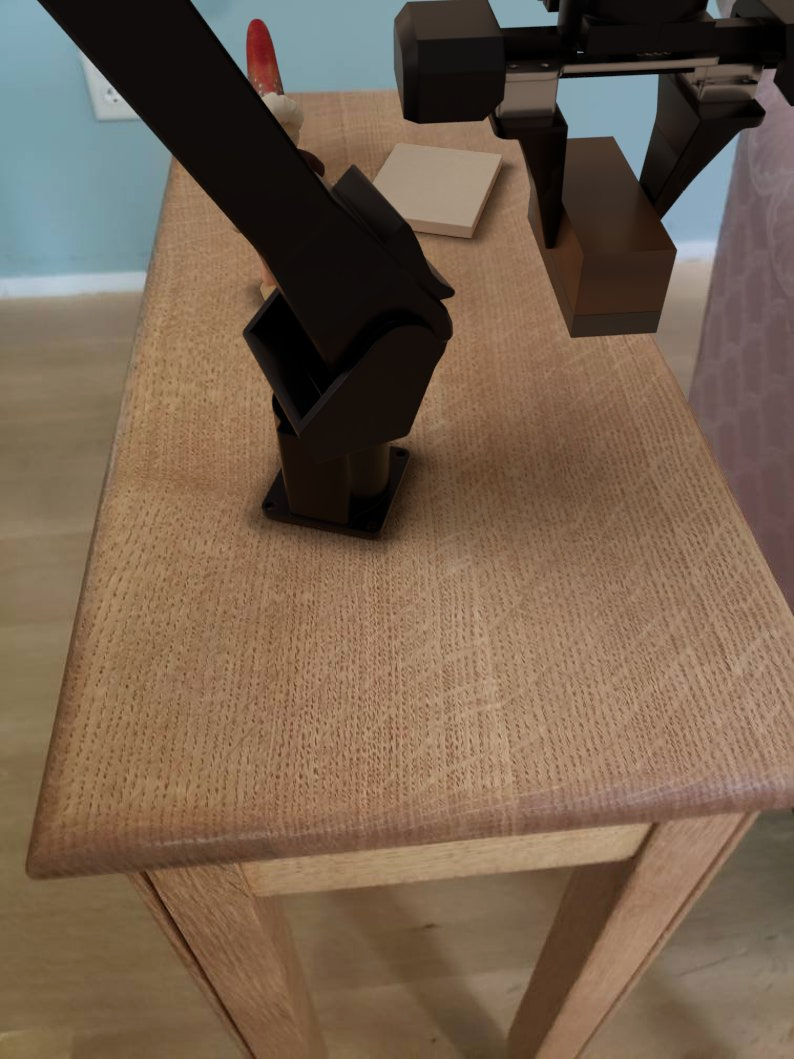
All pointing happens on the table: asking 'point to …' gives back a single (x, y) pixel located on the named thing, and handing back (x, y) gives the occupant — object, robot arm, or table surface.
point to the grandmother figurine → (291, 123)
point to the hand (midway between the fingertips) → (591, 242)
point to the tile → (438, 187)
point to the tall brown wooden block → (606, 245)
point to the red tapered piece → (262, 60)
